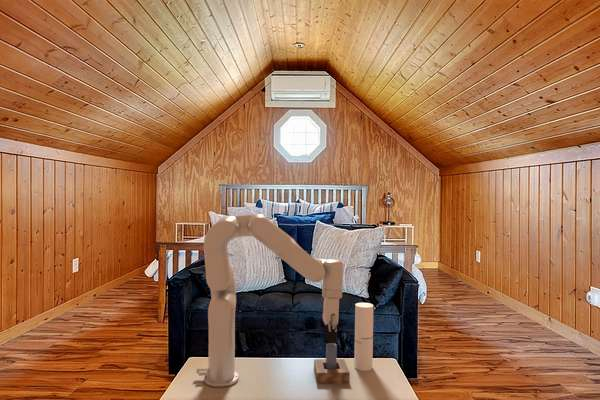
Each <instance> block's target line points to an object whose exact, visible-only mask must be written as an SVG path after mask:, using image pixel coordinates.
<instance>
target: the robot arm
mask: <svg viewBox="0 0 600 400" xmlns="http://www.w3.org/2000/svg"><path fill="white" fill-rule="evenodd" d="M243 237H244V238H245V237H246V238H247V237H253V238H254V239H255V240H257V241H258V242H260V243H261V244H262V245H264V247H265V248H267V249H269V250H270V251H271V252H272V253H273V254H274V255H276V256H277V257H278V258H279V259H281V260H282V261H284V262H285V263H286V264H287V265H288V266H290V267H291V268H292V269H294V271H296V272H297V273H299V274H300V275H301V276H302V277H303V278H305V279H306V280H307V281H309V282H311V283H319V282H321V281H322V290H321V297H323V306H322V307H323V308H322V321H323V323H324V334H327V342H328V343H335V344H336V343H337V340H338V339H337V338H338V334H337V333H338V330H337V325H338V324H339V317H340V316H339V314H340V311H339V309H340V299H342V297H343V281H344V280H343V277H344V262H343V261H342V260H340V259H335V258H334V259H330V258H329V259H324V258H316V257H313V256H311V254H310V253H308V252H307V251H306V250H304V249H303V247H301V246H300V245H299V244H298V243H297V242H296V240H295V239H294V238H293V237H292V236H291V235H289V234H288V233H287V232H285V231H283V230H282V228H280V227H279V226H278V225H276V224H275V223H274V222H273V221H271V220H270V219H269V218H268V217H267V216H266V215H265V214H263V213H262V214H261V213H254V214H243V215H228V216H225V217H223V218H221V219H220V220H218V221H217V222H216V223H214V224H213V225H212V226H211V227H210V228H209V229H208V230H207V232H206V234H205V235H204V239H203V240H204V241H203V253H204V255H203V256H204V267H205V279H206V284H207V286H208V287H209V289H210V297H211V299H210V302H209V305H208V309H207V319H208V321H207V323H208V366H205V367H197V368H196V370H195V371H196V374H198V376H200V377H201V376H202V377H204V378H203V382H204V384H205V385H207V386H210V387H214V388H225V387H230V386H232V385H234V384H236V383H237V382H238V381H239V378H240V377H239V376H240V375H239V372H237V371H236V370H235V364H236V363H235V361H236V360H235V358H236V357H235V355H236V352H235V350H236V309H237V308H236V307H237V293H236V286H235V285H236V284H235V275H234V271H233V268H232V266H231V265H230V262H229V252H228V244H229V243H230V242H231V241H232V240H235V238H243Z"/></svg>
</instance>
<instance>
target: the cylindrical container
mask: <svg viewBox="0 0 600 400" xmlns="http://www.w3.org/2000/svg"><path fill="white" fill-rule="evenodd" d="M354 305H355V306H354V307H355V309H354V310H355V311H354V361H353V362H354V366H353V367H354V369H356V370H358V371H362V372H365V371H366V372H367V371H371V370H372V369H373V353H374V352H373V348H374V347H373V346H374V344H373V343H374V304H372V303H370V302H357V303H355V304H354Z"/></svg>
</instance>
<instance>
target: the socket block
mask: <svg viewBox="0 0 600 400" xmlns="http://www.w3.org/2000/svg"><path fill="white" fill-rule="evenodd" d="M313 373H314V376H315V380H316V384H317V385H318V384H321V385H322V384H329V385H330V384H350V378H351V377H350V373H351V372H350V370H349V368H348V365H347V362H346V360H345V359H344V358H342V359H340V358H337V366H336V369H326V358H324V359H314V360H313Z"/></svg>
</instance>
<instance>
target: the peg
mask: <svg viewBox="0 0 600 400" xmlns="http://www.w3.org/2000/svg"><path fill="white" fill-rule="evenodd" d="M325 346H326V347H325V359H326V369H336V366H337V359H338V356H337V355H338V353H337V352H338V344H336V343H332V342H328V343H325Z"/></svg>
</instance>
